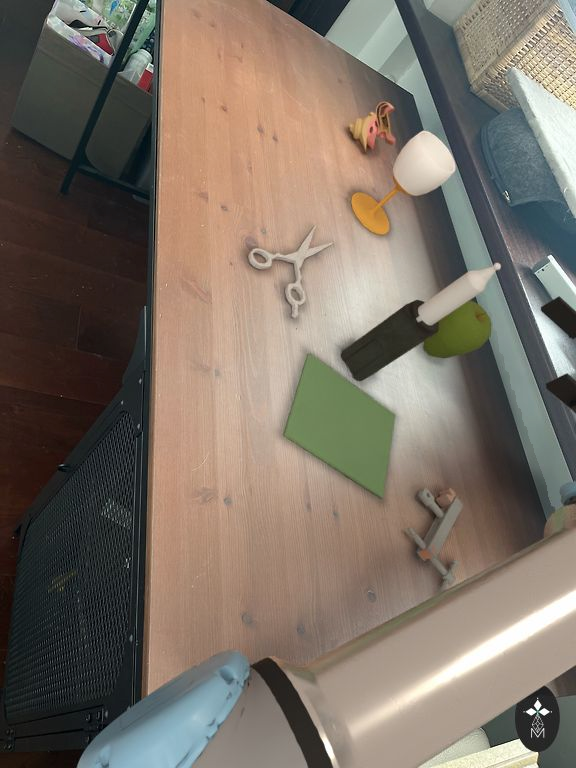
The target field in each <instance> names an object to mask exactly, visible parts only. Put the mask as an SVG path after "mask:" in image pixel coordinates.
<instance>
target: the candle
mask: <svg viewBox="0 0 576 768" xmlns="http://www.w3.org/2000/svg"><path fill="white" fill-rule="evenodd" d="M501 266H502V265H501V264H500V263H499V262H495V263H493V265H492V266H489V267H486V268H482V269H471V270H469V271H467V272H466V273H464V274H463V275H462V276H460V277H459V278H457V279H456V280H454V281H453V282H452V283H450V284H449V285H447V286H446V287H444V288H443V289H442V290H440V291H439V292H437V293H436V294H435V295H433V296H431V298H429V299H428V300H426V301H423V300H421V299H415V300H413V301H411V302H408V303H406V304H404V305H402V307H400V308H398V310H396V311H395V312H393V313H392V314H391V315H389V316H388V317H387V318H384V320H382V321H381V322H380V323H378V324H377V325H376V326H374V327H373V328H371V329H370V330H369V331H368V332H366V333H365V334H363V335H362V336H360V337H359V338H358V339H356V340H355V341H354V342H352V343H351V344H349V345H348V346H347V347H346V348H344V349H342V351H341V352H340V358H341V360H342V361H344V363H345V365H346V367H347V368H348V369H349V371H350V373H351V374H352V377H353V379H354V380H356V381H358V382H363V381H365V380H366V379H368V378H370V377H371V376H373V375H374V374H376V373H377V372H379V371H381V370H382V369H384V368H385V367H387V366H388V365H390V364H391V363H393V362H394V361H396V360H397V359H399V358H401V357H402V356H404V355H406V354H408V352H410V351H411V350H413V349H414V348H416V347H417V346H419V345H420V344H423V342H424V341H425V340H427V339H428V338H430V337H431V336H433V335H434V334H436V333H437V332H438V331H439V322H438V321H439V320H441V319H442V318H444V317H445V316H447V315H448V314H450V313H451V312H453V311H454V310H456V309H457V308H459V307H460V306H462V305H463V304H465V303H466V302H468V301H469V300H470V301H472V299H474V298H475V297H477V296H478V295H479V294H481V293H483V292H484V290H485V289H486V287H487V284H488V282H489V280H490V279H491V278H492V277H493V275H494V274H495V273H496V272H497V271H499V270H500V269H501V268H502V267H501Z"/></svg>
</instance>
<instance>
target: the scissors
mask: <svg viewBox="0 0 576 768" xmlns="http://www.w3.org/2000/svg"><path fill="white" fill-rule="evenodd" d="M316 227H317V224H315V225H314V226H313V228H312V229H311V231H310V232H309V233H308V235H307V237H305V239H304V240H303V242H302V243H301V245H300V247H299V248H298V249H297V251H294V252H292V253H288V254H286V255H284V254H282V253H280V252H277V253H275V254H273V253H270V252H268V251H267V250H265V249H263V248H259V247H256V248H253V249H251V251H250V252H249V253H248V254H247V257H248V262H249V263H250V265H252V266H253V267H254V268H256V269H257V270H267V269H269V268H271V267H272V261H274V260H280V261H284V262H286V263H291V264H293V268H294V275H295V282H294V283H288V284H287V285H286V286H285V288H284V293H285V298H286V300H287V301H288V303H289V304H290V305H291V311H292V312H291V318H293V319H296V318H297V317H298V316H299V310H298V309H299V307H300V306H303V304H304V303H305V302H306V300H307V297H306V292H305V290H304V288H303V287H302V283H301V280H302V279H303V277H302V274H301V270H300V269H301V267H302V265H303V263H304V261H305V259H307V258H309V257H311V256H313V255H315V254H317V253H319V252H321V251H322V250H324V249H326V248H328V247H330V246H331V245H333V244H334V243H335V241H333V242H329V243H325V244H321V245H319V246H315V247H309V246H310V244H311V241H312V239H313V236H314V232H315V230H316ZM254 254H259V255H261V256H262V257H263V258H264V259H265V262H264V263H261V262H258V260H256V258H255V256H254ZM292 290H295V291H296V292H297V293H298V294H299V298H300V299H299V300H296V299H295V298H294V297H293V295H292Z"/></svg>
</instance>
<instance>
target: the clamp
mask: <svg viewBox="0 0 576 768" xmlns="http://www.w3.org/2000/svg"><path fill="white" fill-rule="evenodd" d="M438 495H439V496H438V497H436V498H435V497H434V495H433V494H432V492H431V491H430V490H429V488H427V487H425V488H423V489H421V490H419V491H418V493H417V497H418V498H419V499H420V501H421V502H422V503H423V504H424V506H425V507H429V508H430V510H431V511H432V512H433V513H434V515H436V516H435V518H434V520H433V521H432V523H431V525H430V527H429V529H428V530H427V532H426V534H425V536H424V538H423V539H422V538H421V536H420V535H419V534H417V532H415V530H413V528H412V527H411V526H410V527H408V528H407V531H408V532H409V534H410V535H411V537H412V539H413V540H414V541H415V543H416V544H417V545H418V548H417V550H416V554H417V556H418V557H419V558H420V559H421V560H422V561H423V562H426V561H427V560H430V561H431V562H432V564H433V565H434V566H435V567H436V569H437V570H438V571H439V572H440V574H441V575H440V577H441V578H442V579H443V582H442V584H441V585H442V586H441V587H440V590H439V592H438V594H440V593H442V592H443V591H445V590H447V587H448V585H452V584H454V583H455V581H456V577H455V575H454V572H455V569H456V568H457V567H458V566H459V565H460V563H459V562H458V560H455V559H453V560H451V562H450V564H451V566H450V568H449V569H446V567H445V566H444V564H442V562H441V561H440V560H439V558H438V555H439V553H440V551H441V549H442V547H443V545H444V544H445V541H446V540H447V538H448V536H449V534H450V531H451V530H452V529H453V528H454V526H455V525H454V524H455V522H456V520H457V518H458V517H459V514H460V513H461V511H462V509H463V506H464V504H463V502H462V501H461V500H460V499H459V498H458V497H457V496H456V495H457V493H456V491H455V490H453V488H452V487H448V488H446V489H445V490H442V491H440V492H438Z"/></svg>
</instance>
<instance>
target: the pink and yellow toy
mask: <svg viewBox="0 0 576 768" xmlns="http://www.w3.org/2000/svg"><path fill="white" fill-rule="evenodd" d="M375 109H376V110H375V112H373V111H370V112H369V113H368V115H366V116H365V117H363V118H362V117H357V118H356V119H355V121H354V122H353V123H349V131H350V132H351V133H352V136H353V139H354V140H355V141H358V140H359V141H360V143H361V145H362V147H363V150H364V154H366V152H367V145H368V146H369V148H370V149H371V150H372V151H373V150H374V148H375V142H376V138H377V137H381V138H382V139H384V141H385V143H386V144H388V145H391V146H395V144H396V141H397V139H396V137H395V136H393V134H392V133H391V123H390V118H389V114H392V113H393V112H394V111H395V110H396V108H395V107H394V106H393V105H392V104H391V103H389V102H387V101H381V102H379V104H378V105H377V106H376V108H375Z"/></svg>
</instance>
